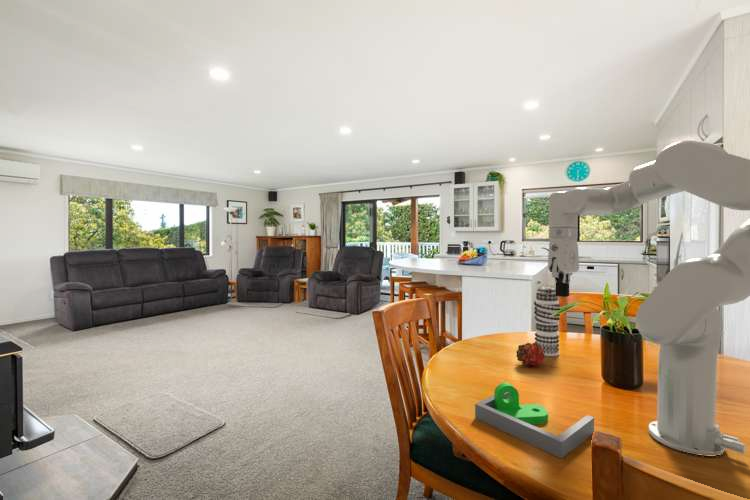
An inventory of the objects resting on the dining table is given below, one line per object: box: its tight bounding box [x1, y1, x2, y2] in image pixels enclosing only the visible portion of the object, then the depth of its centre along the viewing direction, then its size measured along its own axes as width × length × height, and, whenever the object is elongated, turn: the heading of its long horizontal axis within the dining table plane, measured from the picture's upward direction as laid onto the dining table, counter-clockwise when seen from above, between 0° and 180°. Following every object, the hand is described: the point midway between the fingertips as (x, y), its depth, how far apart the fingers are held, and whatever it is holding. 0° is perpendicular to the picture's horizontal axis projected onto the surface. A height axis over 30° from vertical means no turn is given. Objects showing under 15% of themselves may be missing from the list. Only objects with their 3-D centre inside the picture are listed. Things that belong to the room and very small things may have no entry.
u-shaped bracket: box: [474, 392, 595, 459], centre depth 85 cm, size 21×16×4 cm
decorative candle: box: [533, 286, 561, 357], centre depth 137 cm, size 9×9×25 cm
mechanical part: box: [493, 381, 549, 425], centre depth 88 cm, size 12×6×8 cm, turn 94°
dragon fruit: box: [516, 342, 546, 368], centre depth 124 cm, size 8×8×12 cm
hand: (562, 295), depth 106 cm, fingers closed
